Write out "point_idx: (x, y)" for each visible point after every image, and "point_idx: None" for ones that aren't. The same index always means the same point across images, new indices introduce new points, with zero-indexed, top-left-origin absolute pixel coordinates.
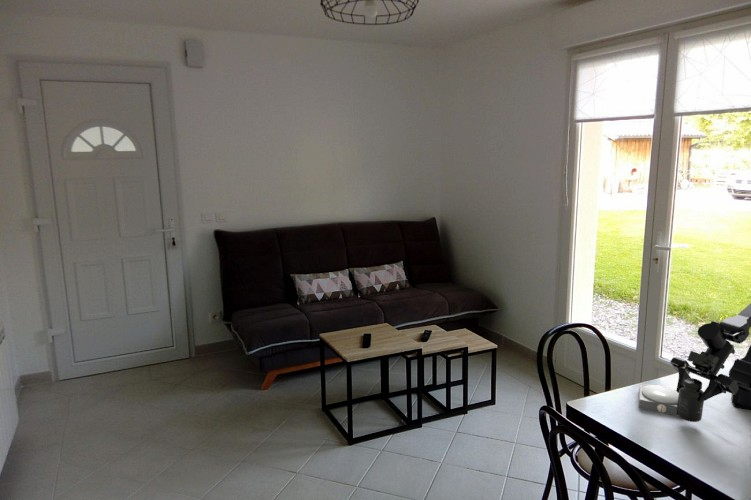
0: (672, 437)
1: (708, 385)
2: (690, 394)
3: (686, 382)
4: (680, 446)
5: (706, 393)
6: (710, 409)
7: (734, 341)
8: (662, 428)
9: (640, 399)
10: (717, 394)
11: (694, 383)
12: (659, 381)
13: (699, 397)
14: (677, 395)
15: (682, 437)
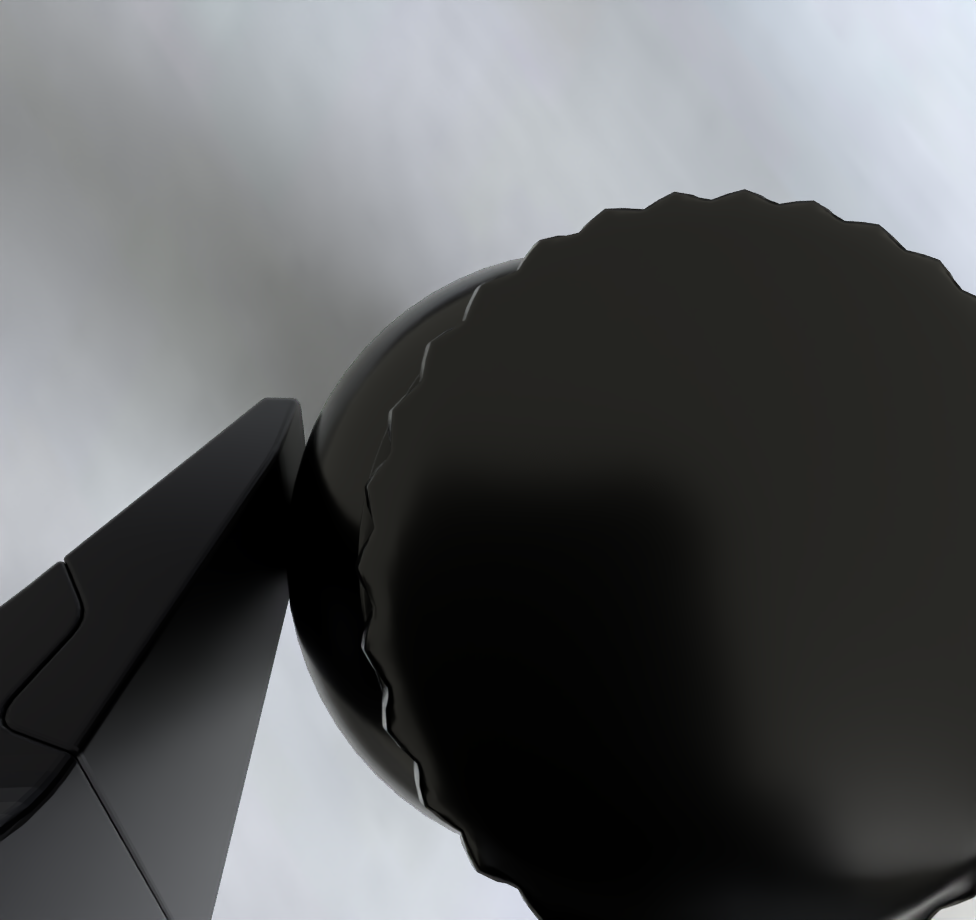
0: (398, 154)
1: (26, 799)
2: (470, 278)
3: (805, 213)
4: (249, 66)
5: (109, 532)
6: None
7: None
8: (562, 228)
9: None
10: None
11: (546, 350)
12: None
13: (308, 443)
14: (939, 912)
15: (350, 244)
